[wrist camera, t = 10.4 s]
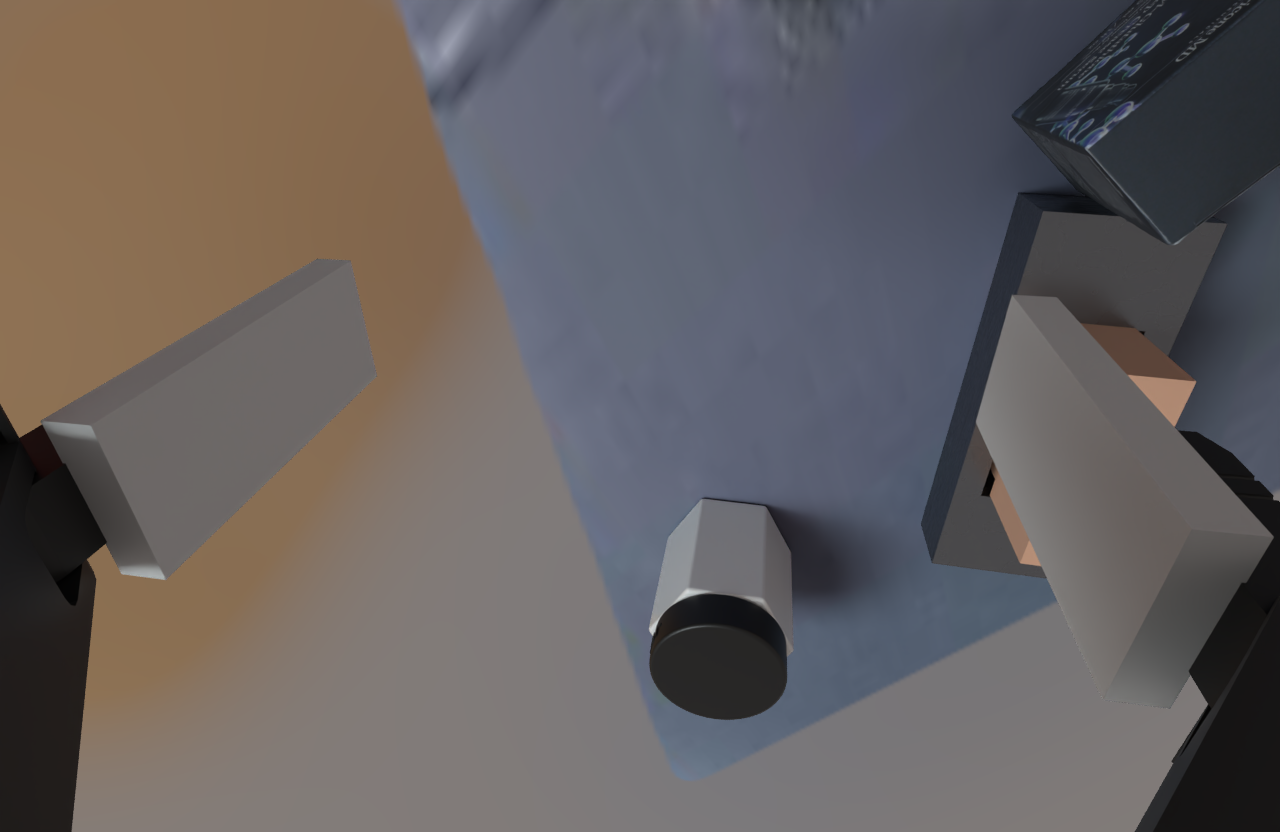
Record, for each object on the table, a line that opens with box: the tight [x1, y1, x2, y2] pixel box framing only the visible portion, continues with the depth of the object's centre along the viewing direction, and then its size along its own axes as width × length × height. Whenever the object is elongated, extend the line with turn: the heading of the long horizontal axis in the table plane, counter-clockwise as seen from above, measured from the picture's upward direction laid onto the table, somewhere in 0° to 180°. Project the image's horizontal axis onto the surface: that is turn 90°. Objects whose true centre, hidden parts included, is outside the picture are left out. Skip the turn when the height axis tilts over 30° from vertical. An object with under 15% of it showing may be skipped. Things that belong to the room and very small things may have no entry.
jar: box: [649, 499, 793, 720], centre depth 46 cm, size 9×8×12 cm
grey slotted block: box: [921, 193, 1227, 578], centre depth 40 cm, size 22×8×4 cm, turn 178°
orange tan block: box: [990, 323, 1196, 566], centre depth 37 cm, size 11×4×10 cm, turn 178°
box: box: [1012, 0, 1280, 245], centre depth 29 cm, size 8×6×11 cm
